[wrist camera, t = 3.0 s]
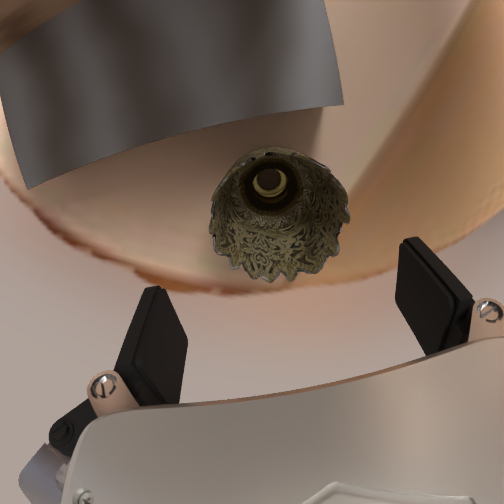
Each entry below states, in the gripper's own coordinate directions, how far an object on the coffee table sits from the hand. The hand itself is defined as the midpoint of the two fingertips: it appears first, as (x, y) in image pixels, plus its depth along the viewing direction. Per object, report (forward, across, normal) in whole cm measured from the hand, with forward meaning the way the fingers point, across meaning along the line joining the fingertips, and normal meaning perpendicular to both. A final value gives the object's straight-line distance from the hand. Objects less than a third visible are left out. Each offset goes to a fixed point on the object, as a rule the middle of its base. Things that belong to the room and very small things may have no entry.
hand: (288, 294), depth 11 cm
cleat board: (+13, +6, -12) cm, 18 cm away
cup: (+13, 0, -1) cm, 13 cm away
